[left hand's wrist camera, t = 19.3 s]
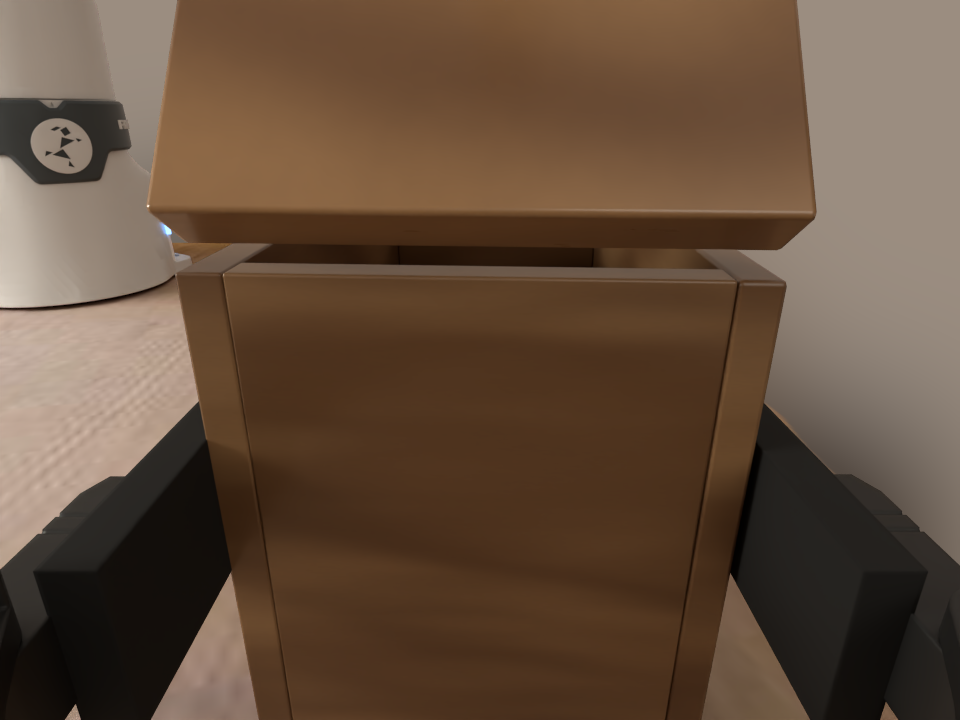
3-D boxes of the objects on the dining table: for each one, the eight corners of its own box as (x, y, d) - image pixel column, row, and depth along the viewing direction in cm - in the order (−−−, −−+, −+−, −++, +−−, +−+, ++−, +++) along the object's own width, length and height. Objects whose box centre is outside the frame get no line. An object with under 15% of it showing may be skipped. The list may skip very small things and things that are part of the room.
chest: (393, 427, 28) (378, 167, 24) (594, 432, 28) (616, 170, 23) (268, 776, 13) (173, 273, 9) (687, 796, 13) (790, 281, 9)
